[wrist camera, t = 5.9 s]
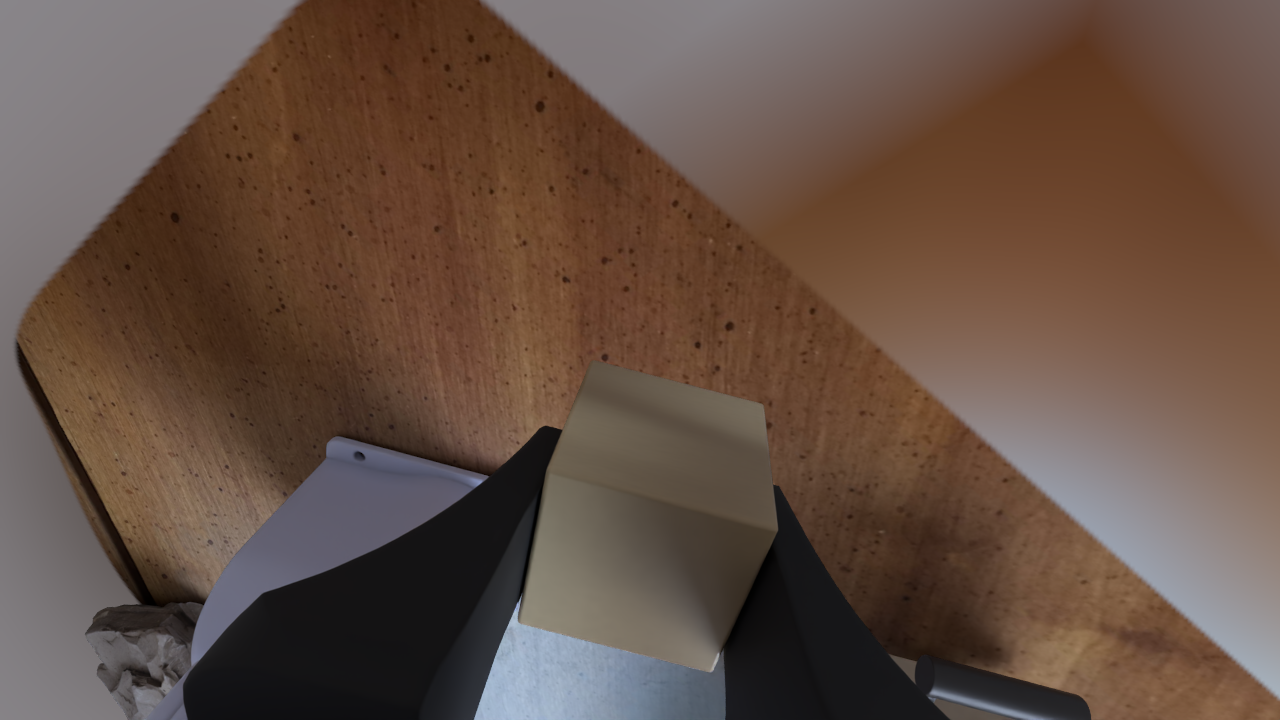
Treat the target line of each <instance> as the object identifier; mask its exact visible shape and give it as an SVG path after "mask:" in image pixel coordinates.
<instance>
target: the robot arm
mask: <svg viewBox="0 0 1280 720" xmlns="http://www.w3.org/2000/svg"><path fill="white" fill-rule="evenodd" d="M561 433H562V430H561V429H557V428H553V427H549V426H543V427H541V428H539V430H538V431H537V432H536V433H535V434H534V435H533V436H532V438H531V439H530V440H529V441H528V442H527V443H526V444H525V445H524V446H523V447H522V448H521V449H520V450H519V451H518V452H517V453H516V454H514V455H513V456H512V457H511V458H510V459H509V460H508V461H507V462H506V463H505V464H503V465H502V466H501V467H500V468H499V469H498V470H496V471H495V472H494V473H493V474H492V475H491V476H487V475H483V474H479V473H475V472H472V471H468V470H464V469H460V468H456V467H453V466H449V465H445V464H441V463H438V462H434V461H430V460H426V459H423V458H419V457H415V456H411V455H408V454H404V453H400V452H396V451H393V450H389V449H385V448H381V447H378V446H374V445H370V444H366V443H363V442H359V441H355V440H351V439H348V438H344V437H338V436H336V437H333V438H332V439H331V440H330V441H329V442H328V443H327V446H326V459H325V460H324V461H323V462H322V463H321V464H320V465H319V466H318V467H317V468H316V469H315V471H314V472H313V473H312V474H311V475H310V476H309V477H308V478H307V479H306V480H305V481H304V482H303V483H302V484H301V485H300V486H299V487H298V488H297V490H296V491H295V492H294V493H293V494H292V495H291V496H290V497H289V498H288V499H287V500H286V501H285V502H284V503H283V504H282V505H281V506H280V507H279V509H278V510H277V511H276V512H275V513H274V514H273V515H272V516H271V517H270V518H269V519H268V520H267V521H266V522H265V523H264V524H263V525H262V526H261V527H260V529H259V530H258V531H257V532H256V533H255V534H254V535H253V536H252V537H251V538H250V539H249V540H248V541H247V542H246V543H245V544H244V545H243V547H242V548H241V549H240V550H239V551H238V552H237V553H236V555H235V556H234V557H233V558H232V560H231V561H230V562H229V564H228V565H227V566H226V568H225V569H224V571H223V572H222V574H221V576H220V577H219V579H218V580H217V582H216V584H215V585H214V587H213V589H212V591H211V592H210V594H209V596H208V598H207V600H206V602H205V604H204V606H203V608H202V611H201V613H200V616H199V618H198V621H197V624H196V628H195V632H194V636H193V641H192V648H191V665H192V667H191V668H190V669H189V670H188V671H187V672H186V673H185V674H184V676H183V677H182V678H181V679H180V680H179V681H178V682H177V684H176V685H175V686H174V687H173V688H172V689H171V690H170V692H169V693H168V694H167V695H166V696H165V697H164V699H163V700H162V701H161V702H160V703H159V704H158V705H157V707H156V708H155V709H154V710H153V711H152V712H151V714H150V715H149V716H148V717H147V718H146V719H145V720H474V717H475V714H476V711H477V708H478V705H479V702H480V699H481V696H482V693H483V691H484V688H485V685H486V682H487V679H488V676H489V673H490V670H491V667H492V664H493V661H494V658H495V655H496V653H497V650H498V648H499V645H500V643H501V640H502V638H503V635H504V633H505V630H506V628H507V626H508V624H509V622H510V619H511V617H512V615H513V613H514V612H515V611H516V609H517V607H518V604H519V599H520V597H521V595H522V593H523V588H524V583H525V577H526V572H527V567H528V562H529V557H530V552H531V547H532V541H533V536H534V531H535V526H536V521H537V516H538V510H539V505H540V500H541V495H542V490H543V485H544V479H545V474H546V470H547V467H548V465H549V462H550V460H551V457H552V455H553V452H554V450H555V447H556V445H557V443H558V440H559V438H560V435H561ZM359 452H361V453H363V454H364V456H363V455H361V454H360V453H359ZM773 489H774V498H775V506H776V515H777V523H778V531H777V534H776V536H775V538H774V540H773V542H772V544H771V547H770V549H769V551H768V553H767V555H766V557H765V560H764V562H763V564H762V566H761V568H760V570H759V573H758V575H757V577H756V579H755V581H754V583H753V586H752V588H751V590H750V592H749V594H748V596H747V599H746V601H745V603H744V605H743V607H742V609H741V612H740V614H739V616H738V618H737V620H736V622H735V625H734V627H733V629H732V631H731V633H730V635H729V638H728V640H727V642H726V644H725V646H724V669H725V689H726V716H725V720H950V719H949V718H948V717H947V716H946V715H945V714H944V713H943V712H942V711H941V710H940V709H939V708H938V707H937V706H936V705H935V704H934V703H933V702H932V701H931V700H930V699H929V698H928V697H927V696H926V695H925V694H924V693H923V692H922V691H921V690H920V689H919V688H918V686H917V685H916V684H915V683H914V682H913V681H912V680H911V679H910V678H909V677H908V675H907V674H906V673H905V672H904V671H903V670H902V669H901V668H900V667H899V666H898V664H897V663H896V662H895V661H894V660H893V659H892V658H891V656H890V655H889V654H888V653H887V652H886V651H885V649H884V648H883V647H882V646H881V645H880V643H879V642H878V641H877V640H876V638H875V637H874V636H873V635H872V633H871V632H870V631H869V629H868V628H867V627H866V626H865V624H864V623H863V622H862V621H861V619H860V618H859V617H858V615H857V614H856V613H855V611H854V610H853V609H852V607H851V606H850V604H849V603H848V602H847V600H846V599H845V597H844V596H843V594H842V593H841V591H840V590H839V588H838V587H837V585H836V584H835V582H834V581H833V579H832V578H831V576H830V575H829V573H828V572H827V570H826V568H825V567H824V565H823V564H822V562H821V560H820V558H819V557H818V555H817V553H816V552H815V550H814V548H813V547H812V545H811V543H810V542H809V540H808V538H807V536H806V534H805V533H804V531H803V529H802V527H801V525H800V524H799V522H798V520H797V518H796V516H795V514H794V513H793V511H792V509H791V507H790V505H789V503H788V501H787V500H786V498H785V496H784V494H783V492H782V491H781V489H780V487H779V486H777V485H773Z"/></svg>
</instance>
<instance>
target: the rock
mask: <svg viewBox="0 0 1280 720" xmlns="http://www.w3.org/2000/svg"><path fill="white" fill-rule="evenodd" d="M202 608H203V605H202V604H198V603H193V602H187V603H184V604H183V603H180V604H178V603H169V604H167V605H166V606H164V607H158V606H150V605H138V604H137V605H122V606H118V607H107V608H105V609H103V610H101V611H99V612H98V613H97V614H96V615H95V616H94V618H93V624H92V625H91V626H90V628H89V629H88V630H87V632H86V633H85V635H86V638H87V640H88V642H89V643H90V644H91V646H92V647H93V648H94V650H95V652H96V653H97V655H98V657H99V658H100V660H101V661H102V662H103V663H102V664H100V665H99V666H98V669H97V676H98V677H99V678H100V679H101V681H102V682H103V683H104V685H105V686H106V687H107V688H108V690H109V691H110V693H111V695H112V696H113V697H114V699H115V701H116V702H117V704H118V705H119V706H120V708H121V709H122V710H123V711H124V713H125V715H126V717H127V719H128V720H145V719H146V718H147V717H148V716H149V715H150V714H151V712H152V711H153V710H154V709H155V708H156V707H157V705H158V704H159V703H160V702H161V701H162V700H163V699H164V697H165V696H166V695H167V694H168V693H169V692H170V690H171V689H172V688H173V687H174V686H175V685H176V684H177V682H178V681H179V680H180V679H181V678H182V677H183V676H184V674H185V673H186V672H187V671H188V670H189V669H190V668H191V667H192V665H191V648H192V641H193V636H194V632H195V628H196V624H197V621H198V618H199V616H200V613H201V611H202Z"/></svg>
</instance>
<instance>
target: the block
mask: <svg viewBox="0 0 1280 720" xmlns="http://www.w3.org/2000/svg"><path fill="white" fill-rule="evenodd" d="M777 531H778V523H777V515H776V506H775V498H774V489H773V481H772V472H771V464H770V455H769V447H768V438H767V430H766V421H765V413H764V406H763V405H762V404H761V403H757V402H753V401H749V400H746V399H742V398H738V397H734V396H730V395H726V394H722V393H719V392H715V391H711V390H707V389H703V388H699V387H695V386H692V385H688V384H684V383H680V382H676V381H672V380H668V379H665V378H661V377H657V376H653V375H649V374H645V373H641V372H638V371H634V370H630V369H626V368H622V367H618V366H614V365H611V364H607V363H603V362H599V361H591V363H590V364H589V367H588V369H587V371H586V374H585V376H584V379H583V381H582V384H581V386H580V389H579V391H578V394H577V396H576V398H575V401H574V403H573V406H572V408H571V411H570V413H569V416H568V418H567V421H566V423H565V425H564V428H563V430H562V433H561V435H560V438H559V440H558V443H557V445H556V447H555V450H554V452H553V455H552V457H551V460H550V462H549V465H548V467H547V470H546V474H545V479H544V485H543V490H542V495H541V500H540V505H539V510H538V516H537V521H536V526H535V531H534V536H533V541H532V547H531V552H530V557H529V562H528V567H527V572H526V577H525V583H524V588H523V593H522V598H521V603H520V608H519V614H518V622H519V623H520V624H523V625H527V626H531V627H535V628H538V629H542V630H546V631H550V632H554V633H558V634H562V635H566V636H569V637H573V638H577V639H581V640H585V641H589V642H593V643H597V644H600V645H604V646H608V647H612V648H616V649H620V650H624V651H628V652H631V653H635V654H639V655H643V656H647V657H651V658H655V659H659V660H663V661H666V662H670V663H674V664H678V665H682V666H686V667H690V668H694V669H697V670H701V671H705V672H712V671H713V670H714V668H715V666H716V664H717V661H718V659H719V657H720V655H721V653H722V651H723V648H724V646H725V644H726V642H727V640H728V638H729V635H730V633H731V631H732V629H733V627H734V625H735V622H736V620H737V618H738V616H739V614H740V612H741V609H742V607H743V605H744V603H745V601H746V599H747V596H748V594H749V592H750V590H751V588H752V586H753V583H754V581H755V579H756V577H757V575H758V573H759V570H760V568H761V566H762V564H763V562H764V560H765V557H766V555H767V553H768V551H769V549H770V547H771V544H772V542H773V540H774V538H775V536H776V534H777Z"/></svg>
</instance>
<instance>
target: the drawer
mask: <svg viewBox="0 0 1280 720" xmlns="http://www.w3.org/2000/svg"><path fill="white" fill-rule="evenodd" d="M889 655H890V654H889ZM890 656H891V658H892V659H893V660H894V661H895V662H896V663H897V664H898V666H899V667H900V668H901V669H902V670H903V671H904V672H905V673H906V674H907V675H908V677H909V678H910V679H911V680H912V681H913V682H914V683H915V684H916V685H917V686H918V688H919V689H920V690H921V691H922V692H923V693H924V694H925V695H926V696H927V697H928V698H929V699H930V700H931V701H932V702H933V703H934V704H935V705H936V706H937V707H938V708H939V709H940V710H941V711H942V712H943V713H944V714H945V715H946V716H947V717H948V718H949V719H950V720H1091V714H1090V710H1089V707H1088V705H1087V703H1086V702H1085V701H1084V699H1083V698H1081V697H1080V696H1078V695H1076V694H1072V693H1068V692H1064V691H1061V690H1057V689H1053V688H1049V687H1046V686H1042V685H1038V684H1034V683H1031V682H1027V681H1023V680H1019V679H1016V678H1012V677H1008V676H1004V675H1000V674H997V673H993V672H989V671H985V670H982V669H978V668H974V667H970V666H967V665H963V664H959V663H955V662H951V661H948V660H944V659H940V658H936V657H933V656H929V655H922V656H921V657H920V658H919V659H918V661H917V662H916V661H913V660H909V659H905V658H901V657H898V656H894V655H890Z"/></svg>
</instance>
